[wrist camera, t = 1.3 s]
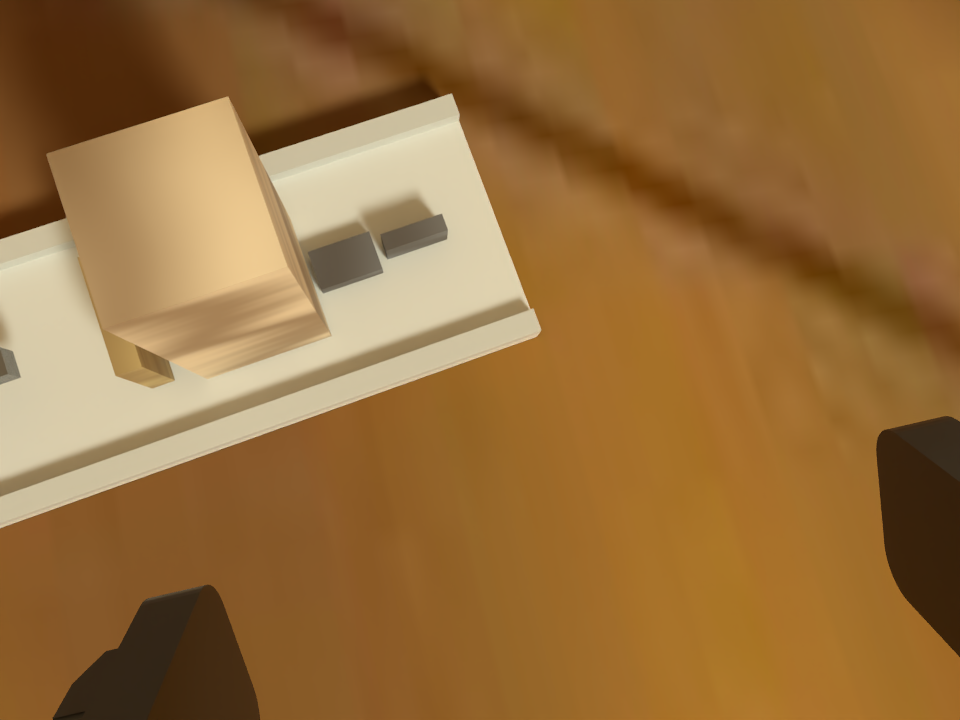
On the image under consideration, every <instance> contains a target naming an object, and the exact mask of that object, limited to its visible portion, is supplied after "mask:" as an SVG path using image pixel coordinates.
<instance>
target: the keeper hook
mask: <svg viewBox="0 0 960 720" xmlns="http://www.w3.org/2000/svg"><path fill="white" fill-rule="evenodd" d="M18 378H21V376H20V372H19V369H18V366H17V363H16V360H15V356H14V353H13V351H11V350H8V349H5V348H1V347H0V385H1V384H4V383H6V382H9V381H12V380H15V379H18Z"/></svg>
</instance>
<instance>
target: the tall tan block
mask: <svg viewBox="0 0 960 720" xmlns="http://www.w3.org/2000/svg"><path fill="white" fill-rule="evenodd" d="M46 156H47V159H48V162H49V165H50V168H51V171H52V174H53V177H54V180H55V183H56V186H57V190H58V193H59V196H60V199H61V202H62V205H63V208H64V211H65V214H66V217H67V220H68V224H69V227H70V230H71V233H72V236H73V239H74V242H75V245H76V248H77V251H78V255H79V257H77V258H78V261H79V265H80V268H81V271H82V274H83V277H84V280H85V283H86V286H87V289H88V292H89V296H90V299H91V302H92V305H93V308H94V311H95V314H96V317H97V320H98V323H99V326H100V330H101V333H102V336H103V339H104V342H105V345H106V348H107V351H108V354H109V357H110V361H111V364H112V367H113V370H114V373H115V376H117V377H120V378H123V379H126V380H129V381H132V382H135V383H137V384H140V385H143V386H146V387H149V388H155V387H158V386H161V385H164V384H167V383H169V382H172V381H175V378H174V375H173V372H172V369H171V366H170V363H169V361H170V362H173V363H175V364H177V365H179V366H181V367H183V368H185V369H187V370H189V371H191V372H194V373H196V374H198V375H200V376H202V377H204V378H206V379H209V378H212V377H215V376H218V375H221V374H224V373H227V372H230V371H232V370H235V369H238V368H241V367H244V366H247V365H250V364H253V363H255V362H258V361H261V360H264V359H267V358H270V357H273V356H276V355H278V354H281V353H284V352H287V351H290V350H293V349H296V348H299V347H301V346H304V345H307V344H310V343H313V342H316V341H319V340H322V339H324V338H327V337H330V336H332V335H331V333H330V330H329V327H328V324H327V321H326V318H325V316H324V313H323V310H322V307H321V304H320V301H319V299H318V296H317V293H316V290H315V287H314V284H313V282H312V279H311V276H310V273H309V270H308V267H307V264H306V262H305V259H304V256H303V253H302V250H301V247H300V245H299V242H298V239H297V236H296V233H295V230H294V228H293V225H292V222H291V219H290V217H289V215H288V213H287V211H286V209H285V207H284V205H283V203H282V201H281V199H280V197H279V195H278V193H277V191H276V189H275V187H274V185H273V183H272V182H271V180H270V178H269V176H268V174H267V172H266V170H265V168H264V166H263V164H262V162H261V160H260V158H259V156H258V154H257V152H256V150H255V148H254V146H253V144H252V142H251V140H250V138H249V136H248V134H247V132H246V130H245V128H244V127H243V125H242V123H241V121H240V119H239V117H238V115H237V113H236V111H235V109H234V107H233V105H232V103H231V101H230V99H229V97H225V98H221V99H218V100H215V101H212V102H209V103H206V104H202V105H199V106H196V107H193V108H190V109H187V110H183V111H180V112H177V113H174V114H171V115H167V116H164V117H161V118H158V119H155V120H152V121H148V122H145V123H142V124H139V125H136V126H133V127H129V128H126V129H123V130H120V131H117V132H114V133H110V134H107V135H104V136H101V137H98V138H95V139H91V140H88V141H85V142H82V143H79V144H75V145H72V146H69V147H66V148H63V149H60V150H56V151H53V152H50V153H47V154H46ZM380 235H381V241H382V245H383V248H384V251H385V253H386V256H387V259H391V258H394V257H397V256H400V255H403V254H406V253H408V252H411V251H414V250H417V249H420V248H423V247H426V246H429V245H432V244H435V243H438V242H441V241H444V240H447V235H448V228H447V226H446V223H445V220H444V218H443V215H442V214H439V215H436V216H433V217H430V218H427V219H424V220H421V221H418V222H415V223H412V224H409V225H406V226H404V227H401V228H398V229H395V230H392V231H389V232H386V233H383V234H380ZM308 255H309V257H310V260H311V263H312V266H313V269H314V272H315V274H316V277H317V280H318V283H319V286H320V289H321V291H322V293H326V292H329V291H332V290H335V289H338V288H341V287H344V286H347V285H350V284H353V283H356V282H358V281H361V280H364V279H367V278H370V277H373V276H376V275H379V274H382V273H383V269H382V266H381V263H380V260H379V258H378V255H377V252H376V249H375V246H374V244H373V241H372V238H371V235H370V233H369V231H368V232H365V233H362V234H359V235H356V236H353V237H350V238H347V239H344V240H341V241H338V242H335V243H333V244H330V245H327V246H324V247H321V248H318V249H315V250H312V251H309V252H308Z"/></svg>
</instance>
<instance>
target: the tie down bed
mask: <svg viewBox="0 0 960 720" xmlns="http://www.w3.org/2000/svg"><path fill="white" fill-rule="evenodd" d="M259 158H260V160H261V162H262V164H263V166H264V168H265V170H266V172H267V174H268V176H269V178H270V180H271V182H272V183H273V185H274V187H275V189H276V191H277V193H278V195H279V197H280V199H281V201H282V203H283V205H284V207H285V209H286V211H287V213H288V215H289V217H290V219H291V222H292V225H293V228H294V230H295V233H296V236H297V239H298V242H299V245H300V247H301V250H302V253H303V256H304V259H305V262H306V264H307V267H308V270H309V273H310V276H311V279H312V282H313V284H314V287H315V290H316V293H317V296H318V299H319V301H320V304H321V307H322V310H323V313H324V316H325V318H326V321H327V324H328V327H329V330H330V333H331V335H332V336H330V337H327V338H324V339H322V340H319V341H316V342H313V343H310V344H307V345H304V346H301V347H299V348H296V349H293V350H290V351H287V352H284V353H281V354H278V355H276V356H273V357H270V358H267V359H264V360H261V361H258V362H255V363H253V364H250V365H247V366H244V367H241V368H238V369H235V370H232V371H230V372H227V373H224V374H221V375H218V376H215V377H212V378H209V379H206V378H204V377H202V376H200V375H198V374H196V373H194V372H191V371H189V370H187V369H185V368H183V367H181V366H179V365H177V364H175V363H173V362H170V361H169V363H170V366H171V369H172V372H173V375H174V378H175V381H172V382H169V383H167V384H164V385H161V386H158V387H155V388H149V387H146V386H143V385H140V384H137V383H135V382H132V381H129V380H126V379H123V378H120V377H117V376H115V373H114V370H113V367H112V364H111V361H110V357H109V354H108V351H107V348H106V345H105V342H104V339H103V336H102V333H101V330H100V326H99V323H98V320H97V317H96V314H95V311H94V308H93V305H92V302H91V299H90V296H89V292H88V289H87V286H86V283H85V280H84V277H83V274H82V271H81V268H80V265H79V261H78V258H77V257H79V255H78V251H77V248H76V245H75V242H74V239H73V236H72V233H71V230H70V227H69V224H68V220H67V218H65V219H62V220H59V221H56V222H53V223H50V224H47V225H44V226H40V227H37V228H34V229H31V230H28V231H25V232H22V233H19V234H16V235H13V236H10V237H6V238H3V239H0V347H1V348H5V349H8V350H11V351H13V353H14V356H15V360H16V363H17V366H18V369H19V372H20V376H21V378H18V379H15V380H12V381H9V382H6V383H4V384H1V385H0V528H2V527H5V526H7V525H10V524H13V523H16V522H19V521H21V520H24V519H27V518H30V517H33V516H35V515H38V514H41V513H44V512H47V511H49V510H52V509H55V508H58V507H61V506H63V505H66V504H69V503H72V502H75V501H77V500H80V499H83V498H86V497H89V496H91V495H94V494H97V493H100V492H103V491H106V490H108V489H111V488H114V487H117V486H120V485H122V484H125V483H128V482H131V481H134V480H136V479H139V478H142V477H145V476H148V475H150V474H153V473H156V472H159V471H162V470H164V469H167V468H170V467H173V466H176V465H178V464H181V463H184V462H187V461H190V460H192V459H195V458H198V457H201V456H204V455H206V454H209V453H212V452H215V451H218V450H220V449H223V448H226V447H229V446H232V445H234V444H237V443H240V442H243V441H246V440H248V439H251V438H254V437H257V436H260V435H262V434H265V433H268V432H271V431H274V430H276V429H279V428H282V427H285V426H288V425H290V424H293V423H296V422H299V421H302V420H305V419H307V418H310V417H313V416H316V415H319V414H321V413H324V412H327V411H330V410H333V409H335V408H338V407H341V406H344V405H347V404H349V403H352V402H355V401H358V400H361V399H363V398H366V397H369V396H372V395H375V394H377V393H380V392H383V391H386V390H389V389H391V388H394V387H397V386H400V385H403V384H405V383H408V382H411V381H414V380H417V379H419V378H422V377H425V376H428V375H431V374H433V373H436V372H439V371H442V370H445V369H447V368H450V367H453V366H456V365H459V364H461V363H464V362H467V361H470V360H473V359H475V358H478V357H481V356H484V355H487V354H489V353H492V352H495V351H498V350H501V349H503V348H506V347H509V346H512V345H515V344H518V343H520V342H523V341H526V340H529V339H532V338H534V337H537V335H538V334H539V333H540V331H541V328H540V325H539V322H538V320H537V317H536V315H535V312H534V309H531V310H530V307H529V305H528V302H527V299H526V297H525V294H524V292H523V289H522V286H521V284H520V281H519V278H518V276H517V273H516V270H515V268H514V265H513V262H512V260H511V257H510V255H509V252H508V249H507V247H506V244H505V241H504V239H503V236H502V233H501V231H500V228H499V225H498V223H497V220H496V218H495V215H494V212H493V210H492V207H491V204H490V202H489V199H488V196H487V194H486V191H485V189H484V186H483V183H482V181H481V178H480V175H479V173H478V170H477V167H476V165H475V162H474V159H473V157H472V154H471V152H470V149H469V146H468V144H467V141H466V138H465V136H464V133H463V130H462V128H461V125H460V122H459V111H458V109H457V106H456V103H455V101H454V98H453V96H452V94H449V95H446V96H442V97H439V98H436V99H433V100H430V101H427V102H424V103H421V104H418V105H415V106H412V107H408V108H405V109H402V110H399V111H396V112H393V113H390V114H387V115H384V116H381V117H377V118H374V119H371V120H368V121H365V122H362V123H359V124H356V125H353V126H350V127H347V128H343V129H340V130H337V131H334V132H331V133H328V134H325V135H322V136H319V137H316V138H313V139H309V140H306V141H303V142H300V143H297V144H294V145H291V146H288V147H285V148H282V149H279V150H275V151H272V152H269V153H266V154H263V155H260V156H259ZM439 214H442V215H443V218H444V220H445V223H446V226H447V228H448V235H447V240H444V241H441V242H438V243H435V244H432V245H429V246H426V247H423V248H420V249H417V250H414V251H411V252H408V253H406V254H403V255H400V256H397V257H394V258H391V259H387V256H386V253H385V251H384V248H383V245H382V241H381V235H380V234H383V233H386V232H389V231H392V230H395V229H398V228H401V227H404V226H406V225H409V224H412V223H415V222H418V221H421V220H424V219H427V218H430V217H433V216H436V215H439ZM368 231H369V233H370V235H371V238H372V241H373V244H374V246H375V249H376V252H377V255H378V258H379V260H380V263H381V266H382V269H383V273H382V274H379V275H376V276H373V277H370V278H367V279H364V280H361V281H358V282H356V283H353V284H350V285H347V286H344V287H341V288H338V289H335V290H332V291H329V292H326V293H322V291H321V289H320V286H319V283H318V280H317V277H316V274H315V272H314V269H313V266H312V263H311V260H310V257H309V255H308V252H309V251H312V250H315V249H318V248H321V247H324V246H327V245H330V244H333V243H335V242H338V241H341V240H344V239H347V238H350V237H353V236H356V235H359V234H362V233H365V232H368Z"/></svg>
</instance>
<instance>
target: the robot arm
mask: <svg viewBox="0 0 960 720" xmlns="http://www.w3.org/2000/svg"><path fill="white" fill-rule="evenodd" d="M876 451H877V465H878V476H879V487H880V498H881V510H882V521H883V532H884V544H885V551H886V556H887V560H888V563H889V567H890V569H891V572H892V575H893V577H894V579H895V581H896V583H897V586H898V587H899V589H900V591H901V592H902V594H903V595H904V597H905V598H906V599H907V601H908V602H909V603H910V604H911V605H912V606H913V607H914V608H915V609H916V610H917V611H918V613H919V614H920V615H921V616H922V617H923V618H924V619H925V620H926V621H927V622H928V623H929V624H930V625H931V626H932V628H933V629H934V630H935V631H936V632H937V633H938V634H939V635H940V636H941V637H942V638H943V639H944V640H945V642H946V643H947V644H948V645H949V646H950V647H951V648H952V649H953V650H954V651H955V652H956V653H957V654H958V655H959V657H960V422H959V421H958V420H956V419H954V418H952V417H949V416H944V417H939V418H935V419H931V420H926V421H922V422H918V423H913V424H909V425H905V426H900V427H896V428H892V429H887V430H884V431H882V432H881V433H880V435H879V437H878V440H877V448H876ZM53 720H260V715H259V708H258V702H257V698H256V694H255V691H254V688H253V685H252V682H251V679H250V677H249V674H248V671H247V668H246V666H245V663H244V660H243V657H242V654H241V652H240V649H239V646H238V643H237V641H236V638H235V635H234V632H233V630H232V627H231V624H230V621H229V618H228V616H227V613H226V610H225V607H224V605H223V602H222V600H221V598H220V596H219V594H218V592H217V591H216V589H215V588H214V587H212V586H211V585H204V586H200V587H196V588H191V589H187V590H183V591H178V592H174V593H170V594H165V595H161V596H157V597H152V598H148V599H146V600H145V601H144V602H143V603H142V604H141V606H140V608H139V610H138V612H137V614H136V615H135V617H134V619H133V621H132V623H131V625H130V627H129V629H128V631H127V633H126V635H125V637H124V638H123V640H122V642H121V644H120V646H119V648H118V649H114V650H109V651H106V652H105V653H104V654H103V655H102V656H101V657H100V658H99V659H98V660H97V661H96V662H95V663H93V664H92V665H91V666H90V667H89V668H88V669H87V670H86V671H85V672H84V673H83V674H82V675H81V676H80V677H79V678H78V679H77V680H76V681H75V682H74V683H73V684H72V685H71V687H70V689H69V691H68V692H67V694H66V696H65V698H64V699H63V701H62V703H61V705H60V707H59V708H58V710H57V712H56V714H55V715H54V717H53Z"/></svg>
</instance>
